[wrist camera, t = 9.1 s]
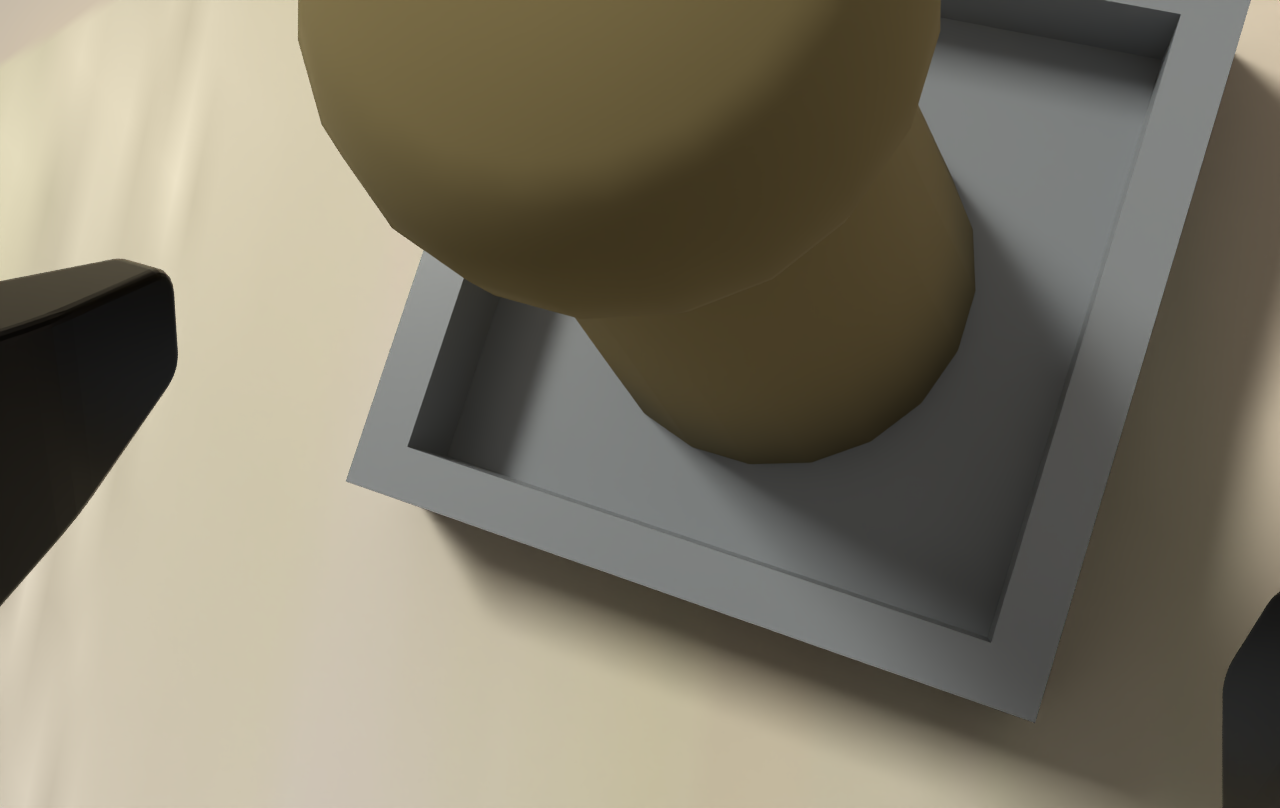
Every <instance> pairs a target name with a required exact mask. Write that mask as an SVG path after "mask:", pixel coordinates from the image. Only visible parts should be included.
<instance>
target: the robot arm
mask: <svg viewBox="0 0 1280 808" xmlns="http://www.w3.org/2000/svg"><path fill="white" fill-rule="evenodd" d="M177 359H178V348H177V332H176V317H175V301H174V290H173V284H172V282H171V279H170V277H169V276H168V275H167V274H166V273H165V272H164V271H163V270H161V269H158V268H154V267H151V266H147V265H144V264H140V263H137V262H133V261H129V260H126V259H112V260H107V261H102V262H96V263H91V264H86V265H81V266H76V267H71V268H66V269H60V270H55V271H50V272H45V273H40V274H35V275H30V276H24V277H19V278H14V279H9V280H4V281H0V606H1V605H2V604H3V603H4V602H5V600H6V599H7V598H8V597H9V596H10V595H11V593H12V592H13V591H14V590H15V589H16V588H17V587H18V585H19V584H20V583H21V582H22V581H23V580H24V578H25V577H26V576H27V575H28V574H29V573H30V572H31V570H32V569H33V568H34V567H35V566H36V565H37V564H38V562H39V561H40V560H41V559H42V558H43V557H44V555H45V554H46V553H47V552H48V551H49V550H50V549H51V547H52V546H53V545H54V544H55V543H56V542H57V541H58V539H59V538H60V537H61V536H62V535H63V533H64V532H65V531H66V530H67V528H68V527H69V526H70V525H71V524H72V522H73V521H74V520H75V519H76V517H77V516H78V515H79V514H80V512H81V511H82V509H83V508H84V507H85V505H86V504H87V503H88V501H89V500H90V499H91V497H92V496H93V495H94V493H95V492H96V490H97V489H98V487H99V486H100V485H101V483H102V482H103V480H104V479H105V477H106V476H107V474H108V473H109V471H110V470H111V469H112V467H113V466H114V464H115V463H116V461H117V460H118V458H119V457H120V455H121V454H122V453H123V451H124V450H125V448H126V447H127V445H128V444H129V442H130V441H131V440H132V438H133V437H134V435H135V434H136V432H137V431H138V429H139V428H140V426H141V425H142V424H143V422H144V421H145V419H146V418H147V416H148V415H149V413H150V412H151V410H152V409H153V408H154V406H155V405H156V403H157V402H158V400H159V399H160V397H161V396H162V395H163V393H164V392H165V390H166V389H167V387H168V386H169V384H170V382H171V380H172V378H173V376H174V373H175V370H176V366H177ZM1222 808H1280V592H1279V593H1277V594H1276V595H1275V596H1274V597H1273V598H1272V599H1271V600H1270V602H1269V603H1268V605H1267V606H1266V608H1265V609H1264V611H1263V613H1262V614H1261V616H1260V617H1259V619H1258V620H1257V622H1256V624H1255V625H1254V627H1253V628H1252V630H1251V632H1250V633H1249V635H1248V636H1247V638H1246V640H1245V641H1244V643H1243V644H1242V646H1241V648H1240V649H1239V651H1238V652H1237V654H1236V656H1235V657H1234V659H1233V661H1232V662H1231V664H1230V666H1229V669H1228V671H1227V674H1226V677H1225V681H1224V687H1223V726H1222Z"/></svg>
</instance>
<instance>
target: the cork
mask: <svg viewBox="0 0 1280 808" xmlns="http://www.w3.org/2000/svg"><path fill="white" fill-rule="evenodd" d="M940 11H941V0H298V41H299V45H300V49H301V52H302V56H303V59H304V63H305V66H306V70H307V74H308V77H309V81H310V84H311V88H312V91H313V95H314V99H315V102H316V106H317V109H318V113H319V116H320V120H321V124H322V126H323V127H324V129H325V130H326V132H327V133H328V135H329V137H330V138H331V140H332V141H333V143H334V144H335V146H336V148H337V149H338V151H339V152H340V154H341V155H342V157H343V158H344V160H345V161H346V163H347V164H348V166H349V167H350V168H351V170H352V171H353V173H354V174H355V176H356V177H357V178H358V180H359V181H360V183H361V184H362V186H363V187H364V188H365V190H366V191H367V193H368V194H369V196H370V197H371V198H372V200H373V201H374V203H375V204H376V206H377V207H378V208H379V210H380V211H381V213H382V214H383V216H384V217H385V218H386V220H387V221H388V223H389V224H390V226H391V227H392V228H393V229H394V230H396V231H397V232H399V233H400V234H401V235H403V236H404V237H406V238H407V239H409V240H410V241H411V242H413V243H414V244H416V245H417V246H419V247H420V248H421V249H423V250H424V251H426V252H427V253H429V254H430V255H431V256H433V257H434V258H436V259H437V260H439V261H440V262H441V263H443V264H444V265H446V266H447V267H449V268H450V269H451V270H453V271H454V272H456V273H457V274H459V275H460V276H461V277H463V278H464V279H466V280H467V281H469V282H471V283H473V284H474V285H476V286H478V287H480V288H482V289H483V290H485V291H487V292H489V293H491V294H493V295H495V296H498V297H502V298H506V299H509V300H513V301H517V302H520V303H524V304H527V305H531V306H535V307H538V308H542V309H546V310H549V311H553V312H557V313H560V314H564V315H567V316H571V317H575V319H576V320H577V322H578V323H579V324H580V326H581V327H582V328H583V330H584V331H585V333H586V334H587V335H588V337H589V338H590V340H591V341H592V342H593V344H594V345H595V347H596V348H597V349H598V351H599V352H600V354H601V355H602V356H603V358H604V359H605V360H606V362H607V363H608V365H609V366H610V367H611V369H612V370H613V372H614V373H615V374H616V376H617V377H618V378H619V380H620V381H621V382H622V384H623V385H624V387H625V388H626V389H627V391H628V392H629V393H630V395H631V396H632V397H633V399H634V400H635V402H636V403H637V404H638V406H639V407H640V408H641V410H642V411H643V412H644V414H646V415H647V416H649V417H650V418H651V419H653V420H654V421H656V422H657V423H658V424H660V425H661V426H663V427H664V428H666V429H667V430H668V431H670V432H671V433H673V434H674V435H676V436H677V437H678V438H680V439H681V440H683V441H684V442H685V443H687V444H688V445H690V446H691V447H693V448H697V449H700V450H704V451H707V452H710V453H714V454H717V455H720V456H724V457H727V458H730V459H734V460H737V461H740V462H744V463H747V464H777V463H811V462H814V461H817V460H820V459H823V458H826V457H828V456H831V455H834V454H837V453H840V452H843V451H845V450H848V449H851V448H854V447H857V446H860V445H863V444H865V443H868V442H871V441H872V440H873V439H875V438H876V437H877V436H879V435H880V434H881V433H883V432H884V431H885V430H887V429H888V428H889V427H891V426H892V425H893V424H895V423H896V422H897V421H898V420H900V419H901V418H902V417H904V416H905V415H906V414H908V413H909V412H910V411H912V410H913V409H914V408H916V407H917V406H918V405H920V404H921V403H922V402H923V400H924V399H925V397H926V396H927V394H928V393H929V392H930V390H931V389H932V387H933V386H934V384H935V383H936V381H937V380H938V379H939V377H940V376H941V374H942V373H943V371H944V370H945V369H946V367H947V366H948V364H949V363H950V361H951V360H952V359H953V357H954V356H955V354H956V353H957V351H958V349H959V345H960V342H961V338H962V335H963V332H964V328H965V325H966V321H967V318H968V315H969V311H970V308H971V305H972V301H973V298H974V294H975V291H976V290H975V267H974V244H973V229H972V226H971V224H970V221H969V219H968V216H967V214H966V211H965V209H964V206H963V204H962V201H961V199H960V196H959V194H958V191H957V189H956V186H955V184H954V181H953V179H952V176H951V174H950V172H949V170H948V167H947V165H946V163H945V161H944V159H943V157H942V155H941V152H940V150H939V148H938V146H937V144H936V142H935V140H934V137H933V135H932V133H931V131H930V129H929V127H928V125H927V122H926V120H925V118H924V116H923V114H922V112H921V110H920V107H919V105H918V103H919V100H920V97H921V93H922V90H923V87H924V84H925V80H926V77H927V74H928V70H929V67H930V64H931V60H932V57H933V54H934V50H935V47H936V44H937V40H938V37H939V34H940Z"/></svg>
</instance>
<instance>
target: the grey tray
mask: <svg viewBox="0 0 1280 808" xmlns="http://www.w3.org/2000/svg"><path fill="white" fill-rule="evenodd" d="M1250 1H1251V0H941V11H940V34H939V37H938V40H937V44H936V47H935V50H934V54H933V57H932V60H931V64H930V67H929V70H928V74H927V77H926V80H925V84H924V87H923V90H922V93H921V97H920V100H919V103H918V105H919V107H920V110H921V112H922V114H923V116H924V118H925V120H926V122H927V125H928V127H929V129H930V131H931V133H932V135H933V137H934V140H935V142H936V144H937V146H938V148H939V150H940V152H941V155H942V157H943V159H944V161H945V163H946V165H947V167H948V170H949V172H950V174H951V176H952V179H953V181H954V184H955V186H956V189H957V191H958V194H959V196H960V199H961V201H962V204H963V206H964V209H965V211H966V214H967V216H968V219H969V221H970V224H971V226H972V229H973V244H974V267H975V290H976V291H975V294H974V298H973V301H972V305H971V308H970V311H969V315H968V318H967V321H966V325H965V328H964V332H963V335H962V338H961V342H960V345H959V349H958V351H957V353H956V354H955V356H954V357H953V359H952V360H951V361H950V363H949V364H948V366H947V367H946V369H945V370H944V371H943V373H942V374H941V376H940V377H939V379H938V380H937V381H936V383H935V384H934V386H933V387H932V389H931V390H930V392H929V393H928V394H927V396H926V397H925V399H924V400H923V402H922V403H921V404H920V405H918V406H917V407H916V408H914V409H913V410H912V411H910V412H909V413H908V414H906V415H905V416H904V417H902V418H901V419H900V420H898V421H897V422H896V423H895V424H893V425H892V426H891V427H889V428H888V429H887V430H885V431H884V432H883V433H881V434H880V435H879V436H877V437H876V438H875V439H873V440H872V441H871V442H868V443H865V444H863V445H860V446H857V447H854V448H851V449H848V450H845V451H843V452H840V453H837V454H834V455H831V456H828V457H826V458H823V459H820V460H817V461H814V462H811V463H777V464H747V463H744V462H740V461H737V460H734V459H730V458H727V457H724V456H720V455H717V454H714V453H710V452H707V451H704V450H700V449H697V448H693V447H691V446H690V445H688V444H687V443H685V442H684V441H683V440H681V439H680V438H678V437H677V436H676V435H674V434H673V433H671V432H670V431H668V430H667V429H666V428H664V427H663V426H661V425H660V424H658V423H657V422H656V421H654V420H653V419H651V418H650V417H649V416H647V415H646V414H644V412H643V411H642V410H641V408H640V407H639V406H638V404H637V403H636V402H635V400H634V399H633V397H632V396H631V395H630V393H629V392H628V391H627V389H626V388H625V387H624V385H623V384H622V382H621V381H620V380H619V378H618V377H617V376H616V374H615V373H614V372H613V370H612V369H611V367H610V366H609V365H608V363H607V362H606V360H605V359H604V358H603V356H602V355H601V354H600V352H599V351H598V349H597V348H596V347H595V345H594V344H593V342H592V341H591V340H590V338H589V337H588V335H587V334H586V333H585V331H584V330H583V328H582V327H581V326H580V324H579V323H578V322H577V320H576V319H575V317H571V316H567V315H564V314H560V313H557V312H553V311H549V310H546V309H542V308H538V307H535V306H531V305H527V304H524V303H520V302H517V301H513V300H509V299H506V298H502V297H498V296H495V295H493V294H491V293H489V292H487V291H485V290H483V289H482V288H480V287H478V286H476V285H474V284H473V283H471V282H469V281H467V280H466V279H464V278H463V277H461V276H460V275H459V274H457V273H456V272H454V271H453V270H451V269H450V268H449V267H447V266H446V265H444V264H443V263H441V262H440V261H439V260H437V259H436V258H434V257H433V256H431V255H430V254H429V253H427V252H426V251H423V254H422V257H421V260H420V263H419V266H418V269H417V272H416V275H415V278H414V280H413V283H412V286H411V289H410V292H409V295H408V298H407V301H406V304H405V307H404V310H403V313H402V316H401V319H400V322H399V325H398V328H397V331H396V334H395V337H394V340H393V343H392V346H391V349H390V352H389V355H388V358H387V361H386V363H385V366H384V369H383V372H382V375H381V378H380V381H379V384H378V387H377V390H376V393H375V396H374V399H373V402H372V405H371V408H370V411H369V414H368V417H367V420H366V423H365V426H364V429H363V432H362V435H361V438H360V441H359V444H358V447H357V449H356V452H355V455H354V458H353V461H352V464H351V467H350V470H349V473H348V476H347V479H346V482H349V483H352V484H355V485H358V486H361V487H364V488H366V489H369V490H372V491H375V492H378V493H381V494H383V495H386V496H389V497H392V498H395V499H398V500H401V501H403V502H406V503H409V504H412V505H415V506H418V507H421V508H423V509H426V510H429V511H432V512H435V513H438V514H441V515H443V516H446V517H449V518H452V519H455V520H458V521H460V522H463V523H466V524H469V525H472V526H475V527H478V528H480V529H483V530H486V531H489V532H492V533H495V534H498V535H500V536H503V537H506V538H509V539H512V540H515V541H517V542H520V543H523V544H526V545H529V546H532V547H535V548H537V549H540V550H543V551H546V552H549V553H552V554H555V555H557V556H560V557H563V558H566V559H569V560H572V561H575V562H577V563H580V564H583V565H586V566H589V567H592V568H594V569H597V570H600V571H603V572H606V573H609V574H612V575H614V576H617V577H620V578H623V579H626V580H629V581H632V582H634V583H637V584H640V585H643V586H646V587H649V588H651V589H654V590H657V591H660V592H663V593H666V594H669V595H671V596H674V597H677V598H680V599H683V600H686V601H689V602H691V603H694V604H697V605H700V606H703V607H706V608H709V609H711V610H714V611H717V612H720V613H723V614H726V615H728V616H731V617H734V618H737V619H740V620H743V621H746V622H748V623H751V624H754V625H757V626H760V627H763V628H766V629H768V630H771V631H774V632H777V633H780V634H783V635H785V636H788V637H791V638H794V639H797V640H800V641H803V642H805V643H808V644H811V645H814V646H817V647H820V648H823V649H825V650H828V651H831V652H834V653H837V654H840V655H843V656H845V657H848V658H851V659H854V660H857V661H860V662H862V663H865V664H868V665H871V666H874V667H877V668H880V669H882V670H885V671H888V672H891V673H894V674H897V675H900V676H902V677H905V678H908V679H911V680H914V681H917V682H919V683H922V684H925V685H928V686H931V687H934V688H937V689H939V690H942V691H945V692H948V693H951V694H954V695H957V696H959V697H962V698H965V699H968V700H971V701H974V702H977V703H979V704H982V705H985V706H988V707H991V708H994V709H996V710H999V711H1002V712H1005V713H1008V714H1011V715H1014V716H1016V717H1019V718H1022V719H1025V720H1028V721H1031V722H1034V723H1035V721H1036V718H1037V715H1038V711H1039V708H1040V705H1041V701H1042V698H1043V695H1044V691H1045V688H1046V685H1047V681H1048V678H1049V675H1050V671H1051V668H1052V664H1053V661H1054V658H1055V654H1056V651H1057V648H1058V644H1059V641H1060V638H1061V634H1062V631H1063V628H1064V624H1065V621H1066V618H1067V614H1068V611H1069V608H1070V604H1071V601H1072V597H1073V594H1074V591H1075V587H1076V584H1077V581H1078V577H1079V574H1080V571H1081V567H1082V564H1083V561H1084V557H1085V554H1086V551H1087V547H1088V544H1089V541H1090V537H1091V534H1092V530H1093V527H1094V524H1095V520H1096V517H1097V514H1098V510H1099V507H1100V504H1101V500H1102V497H1103V494H1104V490H1105V487H1106V484H1107V480H1108V477H1109V474H1110V470H1111V467H1112V463H1113V460H1114V457H1115V453H1116V450H1117V447H1118V443H1119V440H1120V437H1121V433H1122V430H1123V427H1124V423H1125V420H1126V417H1127V413H1128V410H1129V407H1130V403H1131V400H1132V396H1133V393H1134V390H1135V386H1136V383H1137V380H1138V376H1139V373H1140V370H1141V366H1142V363H1143V360H1144V356H1145V353H1146V350H1147V346H1148V343H1149V340H1150V336H1151V333H1152V329H1153V326H1154V323H1155V319H1156V316H1157V313H1158V309H1159V306H1160V303H1161V299H1162V296H1163V293H1164V289H1165V286H1166V283H1167V279H1168V276H1169V273H1170V269H1171V266H1172V262H1173V259H1174V256H1175V252H1176V249H1177V246H1178V242H1179V239H1180V236H1181V232H1182V229H1183V226H1184V222H1185V219H1186V216H1187V212H1188V209H1189V206H1190V202H1191V199H1192V195H1193V192H1194V189H1195V185H1196V182H1197V179H1198V175H1199V172H1200V169H1201V165H1202V162H1203V159H1204V155H1205V152H1206V149H1207V145H1208V142H1209V139H1210V135H1211V132H1212V128H1213V125H1214V122H1215V118H1216V115H1217V112H1218V108H1219V105H1220V102H1221V98H1222V95H1223V92H1224V88H1225V85H1226V82H1227V78H1228V75H1229V72H1230V68H1231V65H1232V61H1233V58H1234V55H1235V51H1236V48H1237V45H1238V41H1239V38H1240V35H1241V31H1242V28H1243V25H1244V21H1245V18H1246V15H1247V11H1248V8H1249V5H1250Z"/></svg>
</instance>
